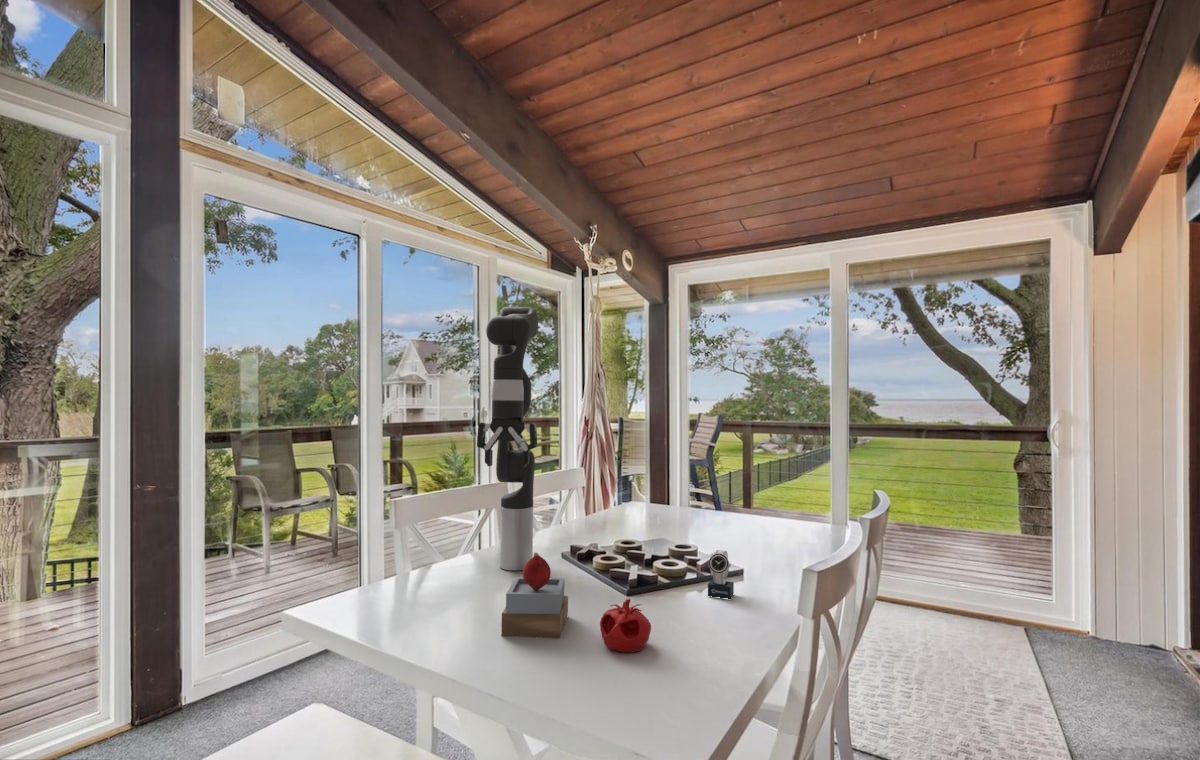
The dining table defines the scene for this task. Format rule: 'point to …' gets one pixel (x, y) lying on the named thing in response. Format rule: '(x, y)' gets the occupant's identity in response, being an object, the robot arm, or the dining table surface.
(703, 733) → the dining table surface
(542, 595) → the top block
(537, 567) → the onion
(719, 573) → the watch
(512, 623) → the bottom block
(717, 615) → the dining table surface
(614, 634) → the pomegranate
